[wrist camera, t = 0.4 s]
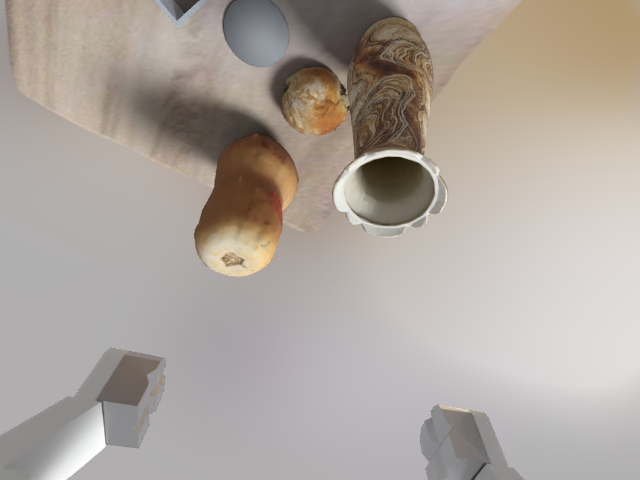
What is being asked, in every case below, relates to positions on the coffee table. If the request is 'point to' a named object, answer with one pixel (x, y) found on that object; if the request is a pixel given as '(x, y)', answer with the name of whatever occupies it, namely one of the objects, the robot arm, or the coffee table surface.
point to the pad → (256, 32)
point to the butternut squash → (246, 206)
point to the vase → (390, 133)
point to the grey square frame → (178, 10)
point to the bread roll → (314, 101)
